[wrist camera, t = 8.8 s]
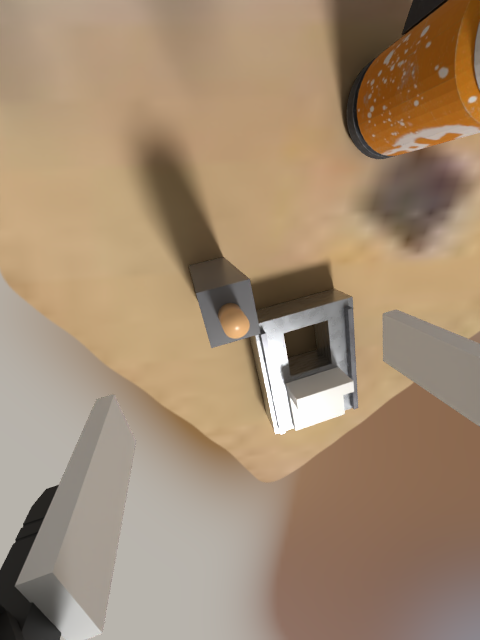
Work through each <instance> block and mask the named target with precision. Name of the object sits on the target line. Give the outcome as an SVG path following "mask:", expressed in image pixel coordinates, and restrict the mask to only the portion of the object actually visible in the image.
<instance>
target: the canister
mask: <svg viewBox="0 0 480 640" xmlns="http://www.w3.org/2000/svg"><path fill="white" fill-rule="evenodd" d="M403 34H405V35H404V36H403V37H401V38H400V39H399V40H398V41H396V42H395V43H394V44H393V45H391V46H390V47H389V48H387V49H386V50H385V51H384V52H382V53H381V54H380V55H379V56H377V57H376V58H375V59H374V60H372V61H371V62H370V63H369V64H368V65H367V66H365V67H364V68H363V70H362V71H361V72H360V73H359V75H358V77H357V78H356V80H355V82H354V84H353V86H352V88H351V91H350V95H349V98H348V104H347V124H348V130H349V133H350V136H351V138H352V140H353V142H354V144H355V145H356V147H357V148H358V149H359V150H360V151H361V152H362V153H363V154H365V155H366V156H368V157H371V158H375V159H385V158H389V157H393V156H396V155H400V154H404V153H407V152H411V151H415V150H418V149H422V148H426V147H429V146H433V145H436V144H440V143H444V142H447V141H451V140H455V139H458V138H462V137H465V136H469V135H473V134H476V133H480V0H413V2H412V5H411V8H410V11H409V14H408V17H407V20H406V23H405V26H404V29H403V32H402V35H403Z"/></svg>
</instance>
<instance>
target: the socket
mask: <svg viewBox="0 0 480 640" xmlns="http://www.w3.org/2000/svg"><path fill="white" fill-rule="evenodd" d="M256 313H257V318H258V323H259V328H260V333H261V334H258V335H255V336H251V337H250V340H251V345H252V350H253V354H254V359H255V364H256V368H257V373H258V377H259V382H260V387H261V391H262V396H263V400H264V405H265V410H266V414H267V416H268V419H269V421H270V423H271V425H272V427H273V429H274V431H275V434H277V433H280V434H283V433H285V431H286V430H289V429H292V428H294V427H293V422H292V417H291V411H290V405H289V399H288V393H287V388H286V383H289V382H292V381H295V380H298V379H301V378H305V377H308V376H311V375H314V374H317V373H320V372H323V371H327V370H330V369H333V368H336V367H339V368H340V369H341V370H342V371H343V372H344V373H345V374H346V375H347V376H348V377H349V378H351V379H352V380H353V382H354V392H352V393H349V394H346V395H343V397H344V410H347V409H350V408H353V409H356V408H358V396H357V377H356V357H355V338H354V318H353V298H352V296H349V295H347V294H345V293H343V292H341V291H338V290H336V289H331V290H327V291H324V292H320V293H316V294H313V295H309V296H306V297H302V298H299V299H295V300H291V301H288V302H284V303H281V304H277V305H273V306H270V307H266V308H263V309H259V310H256ZM313 324H314V330H315V338H316V347H317V350H314V351H310V352H307V353H304V354H300V355H297V356H294V357H291V358H287V352H286V345H285V339H284V333H286V332H289V331H293V330H296V329H300V328H303V327H306V326H310V325H313Z"/></svg>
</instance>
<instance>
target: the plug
mask: <svg viewBox="0 0 480 640" xmlns="http://www.w3.org/2000/svg"><path fill="white" fill-rule="evenodd" d="M189 270H190V273H191V277H192V281H193V284H194V288H195V292H196V295H197V299H198V302H199V306H200V309H201V313H202V316H203V320H204V324H205V327H206V331H207V334H208V338H209V341H210V345H211V348H213V347H217V346H220V345H224V344H227V343H231V342H234V341H238V340H241V339H244V338H248V337H251V336H255V335H258V334H261V333H260V328H259V323H258V318H257V313H256V308H255V303H254V298H253V293H252V288H251V283H250V279H249V278H248V277H247V276H246V275H244V274H243V273H242V272H241V271H240V270H238V269H237V268H236V267H235V266H234V265H232V264H231V263H230V262H229V261H228V260H226V259H225V258H224V257H221V258H217V259H213V260H209V261H205V262H201V263H197V264H193V265H189Z"/></svg>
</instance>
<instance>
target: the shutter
mask: <svg viewBox="0 0 480 640" xmlns="http://www.w3.org/2000/svg"><path fill="white" fill-rule="evenodd" d="M286 388H287V393H288V399H289V405H290V411H291V417H292V422H293V427H294V429H295V431H297V430H299V429H302V428H305V427H308V426H311V425H314V424H317V423H320V422H323V421H326V420H329V419H332V418H335V417H337V416H340V415H343V414H345V411H344V397H343V395H346V394H349V393H352V392H354V382H353V380H352V379H351V378H349V377H348V376H347V375H346V374H345V373H344V372H343V371H342V370H341V369H340V368H339V367H336V368H333V369H330V370H327V371H323V372H320V373H317V374H314V375H311V376H308V377H305V378H301V379H298V380H295V381H292V382H289V383H286Z"/></svg>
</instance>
